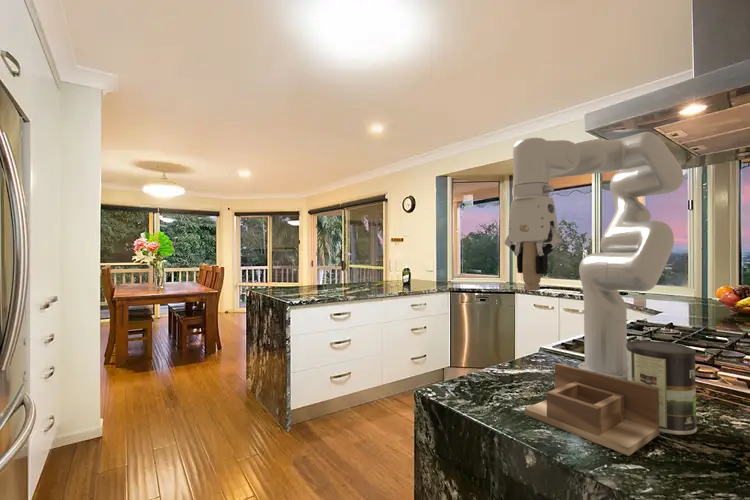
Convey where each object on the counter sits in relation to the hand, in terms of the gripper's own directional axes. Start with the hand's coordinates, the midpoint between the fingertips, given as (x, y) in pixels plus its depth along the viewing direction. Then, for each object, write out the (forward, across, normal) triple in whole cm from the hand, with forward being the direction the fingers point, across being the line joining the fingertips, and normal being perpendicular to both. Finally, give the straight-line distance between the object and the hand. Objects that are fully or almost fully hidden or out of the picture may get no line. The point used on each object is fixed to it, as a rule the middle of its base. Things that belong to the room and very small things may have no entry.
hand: (531, 272), depth 85 cm
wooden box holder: (+27, -15, +7) cm, 32 cm away
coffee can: (+27, -22, -6) cm, 36 cm away
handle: (+4, 0, 0) cm, 4 cm away
